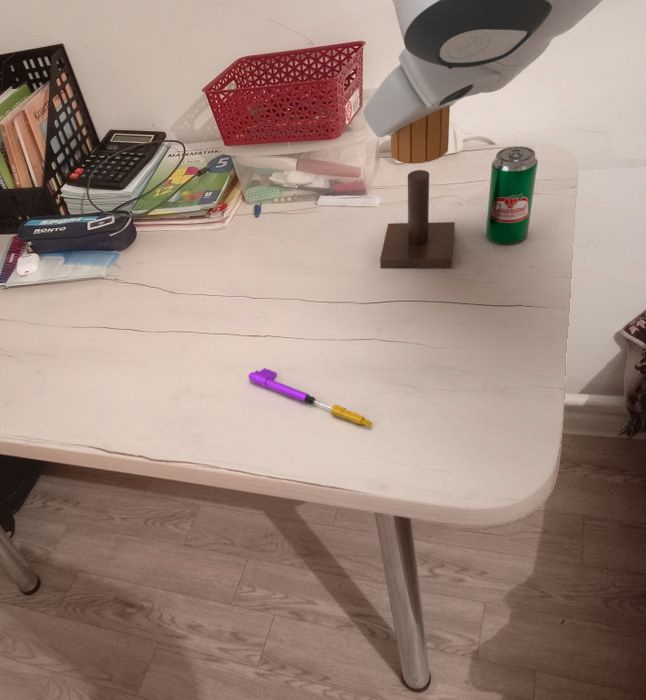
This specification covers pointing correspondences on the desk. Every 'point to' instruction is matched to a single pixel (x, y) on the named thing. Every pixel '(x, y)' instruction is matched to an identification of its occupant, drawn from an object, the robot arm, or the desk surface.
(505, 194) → the soda can
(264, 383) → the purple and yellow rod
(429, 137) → the wooden hollow cylinder
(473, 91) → the robot arm
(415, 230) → the stand
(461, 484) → the desk surface
